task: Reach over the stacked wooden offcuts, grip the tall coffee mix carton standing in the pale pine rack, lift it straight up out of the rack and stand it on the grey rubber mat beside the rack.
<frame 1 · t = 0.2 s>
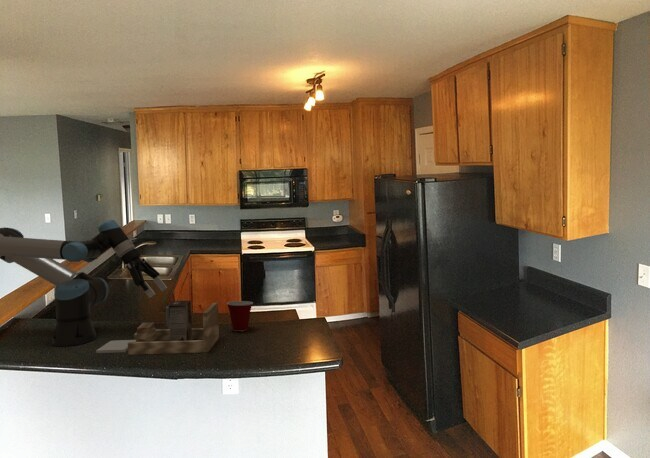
hand: (158, 292, 190), 16 cm above the countertop, tool tilted 35°, fingers open, 13 cm apart
mat: (117, 347, 166), on the countertop
cup: (176, 329, 191), on the countertop
offcut stack: (146, 346, 167), on the countertop
plastic cup: (240, 330, 186), on the countertop
coffee box: (181, 346, 167), resting in rack
rack: (181, 345, 167), on the countertop
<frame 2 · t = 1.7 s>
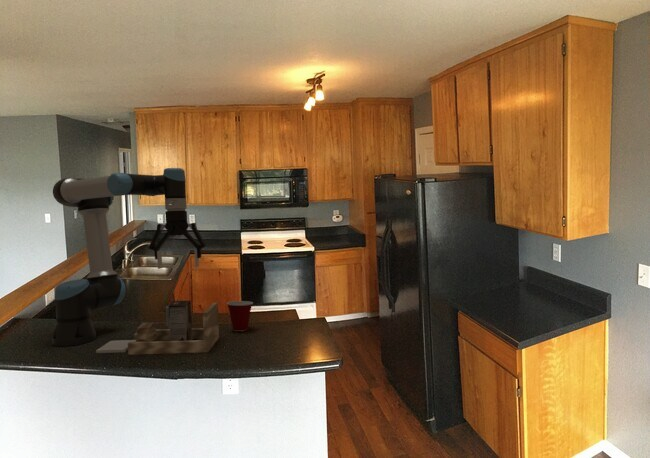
hand: (178, 267, 166), 29 cm above the countertop, tool pointing down, fingers open, 13 cm apart
nothing on the countertop moved.
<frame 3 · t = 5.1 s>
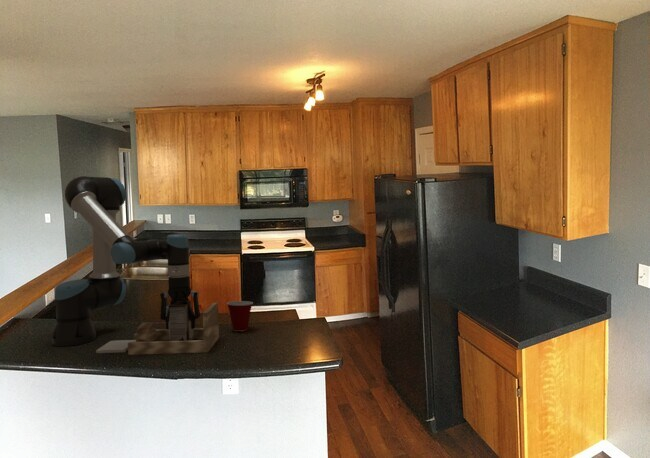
hand: (181, 337, 167), 3 cm above the countertop, tool pointing down, fingers closed on coffee box, 7 cm apart
coffee box: (181, 346, 167), resting in rack, touching gripper
everything else where it was.
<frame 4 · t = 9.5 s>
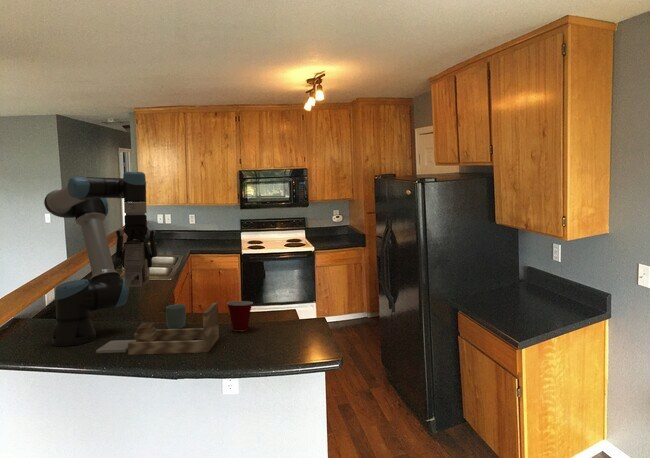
hand: (137, 276, 166), 26 cm above the countertop, tool pointing down, fingers closed on coffee box, 7 cm apart
coffee box: (137, 284, 166), point 23 cm above the countertop, touching gripper
everything else where it was.
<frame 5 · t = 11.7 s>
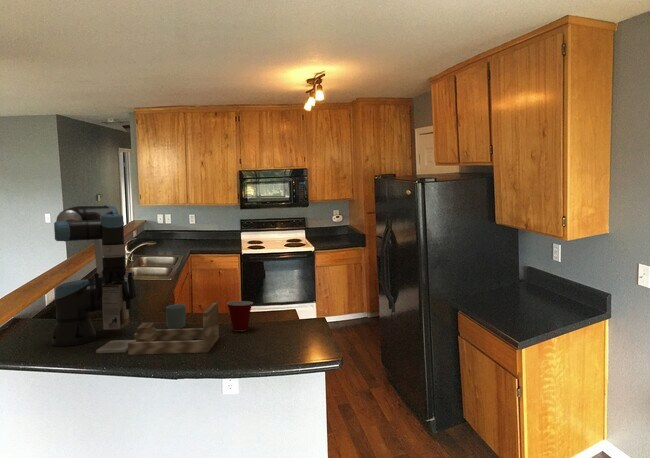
hand: (116, 318, 166), 11 cm above the countertop, tool pointing down, fingers closed on coffee box, 7 cm apart
coffee box: (116, 326, 166), point 8 cm above the countertop, touching gripper
everything else where it was.
when the fingers open (5 cm above the countertop, at t = 13.7 s): coffee box drops 1 cm, resting on mat.
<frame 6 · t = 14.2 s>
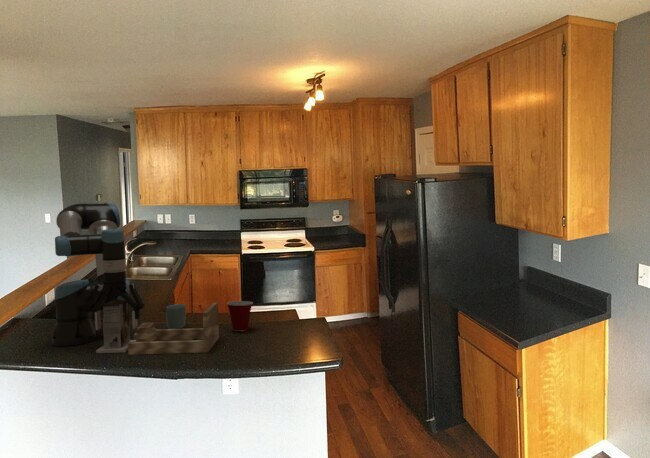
hand: (116, 328, 166), 7 cm above the countertop, tool pointing down, fingers open, 13 cm apart
coffee box: (117, 345, 166), point 1 cm above the countertop, touching mat
everything else where it was.
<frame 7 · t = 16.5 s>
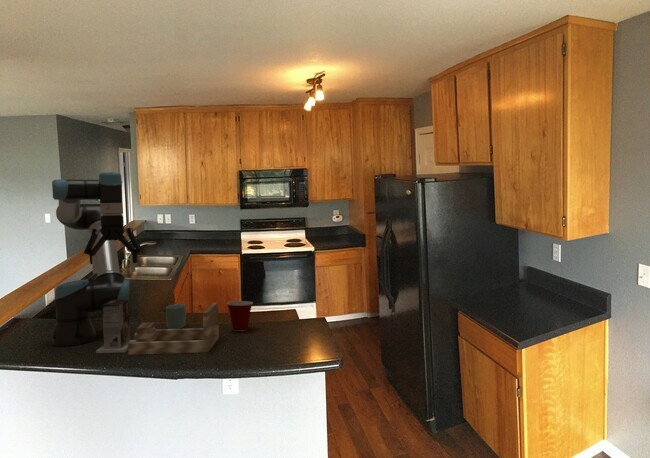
hand: (114, 272, 165), 28 cm above the countertop, tool pointing down, fingers open, 13 cm apart
nothing on the countertop moved.
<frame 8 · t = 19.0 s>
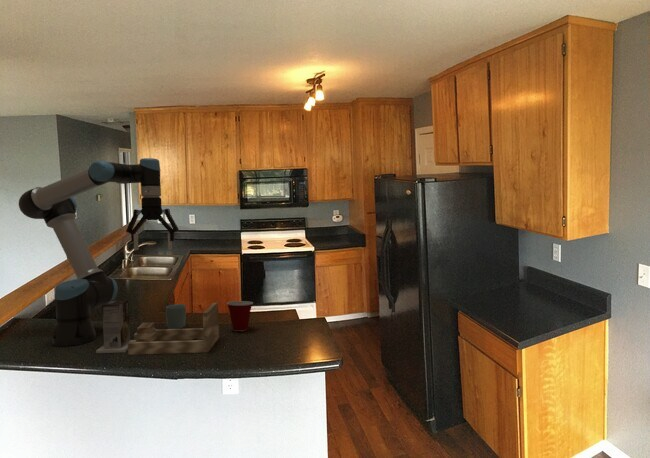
hand: (153, 249, 182), 35 cm above the countertop, tool pointing down, fingers open, 13 cm apart
nothing on the countertop moved.
at the end: coffee box inside the target area (0.0 cm from its centre), point 0.8 cm above the countertop; coffee box tilted 0°; the gripper is holding nothing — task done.
